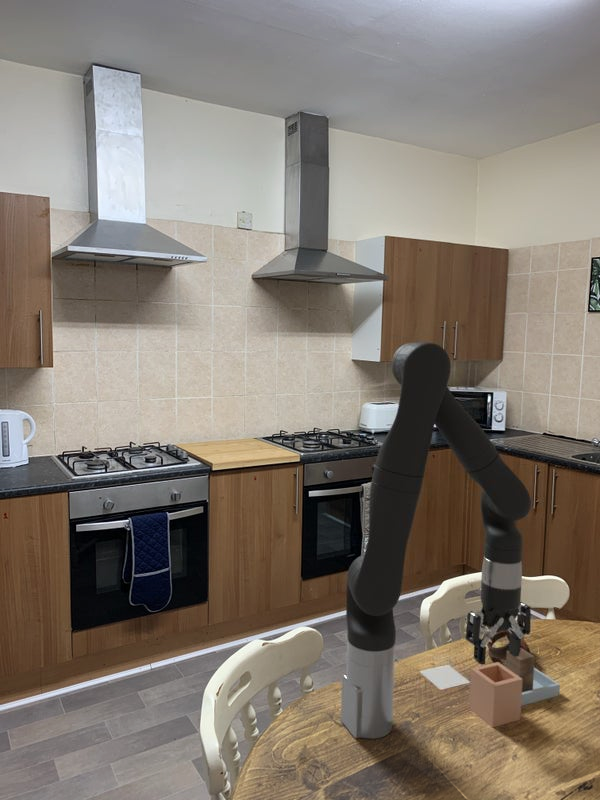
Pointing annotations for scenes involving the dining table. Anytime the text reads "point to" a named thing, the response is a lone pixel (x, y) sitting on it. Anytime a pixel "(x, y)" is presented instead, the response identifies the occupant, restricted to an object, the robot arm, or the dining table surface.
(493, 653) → the dark brown looped piece
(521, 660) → the walnut block
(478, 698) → the terracotta pot
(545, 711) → the dining table surface
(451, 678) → the ceramic tile
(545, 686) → the blue-grey tub
